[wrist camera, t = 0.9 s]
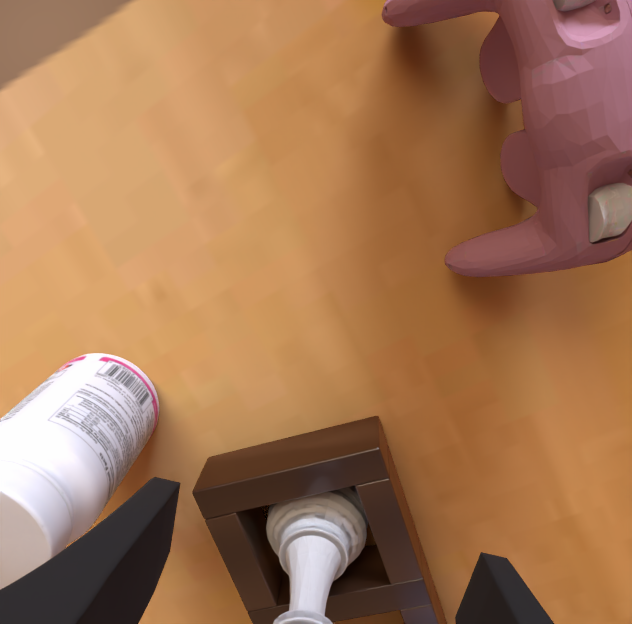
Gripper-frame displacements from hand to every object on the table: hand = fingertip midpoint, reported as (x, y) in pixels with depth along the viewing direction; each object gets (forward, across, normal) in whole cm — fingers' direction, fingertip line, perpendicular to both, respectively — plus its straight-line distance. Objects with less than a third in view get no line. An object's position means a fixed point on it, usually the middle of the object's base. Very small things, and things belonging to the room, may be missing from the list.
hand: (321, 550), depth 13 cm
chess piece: (+10, -1, +7) cm, 13 cm away
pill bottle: (+10, +9, +4) cm, 15 cm away
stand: (+10, -2, +10) cm, 14 cm away
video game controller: (+10, -3, -10) cm, 15 cm away
